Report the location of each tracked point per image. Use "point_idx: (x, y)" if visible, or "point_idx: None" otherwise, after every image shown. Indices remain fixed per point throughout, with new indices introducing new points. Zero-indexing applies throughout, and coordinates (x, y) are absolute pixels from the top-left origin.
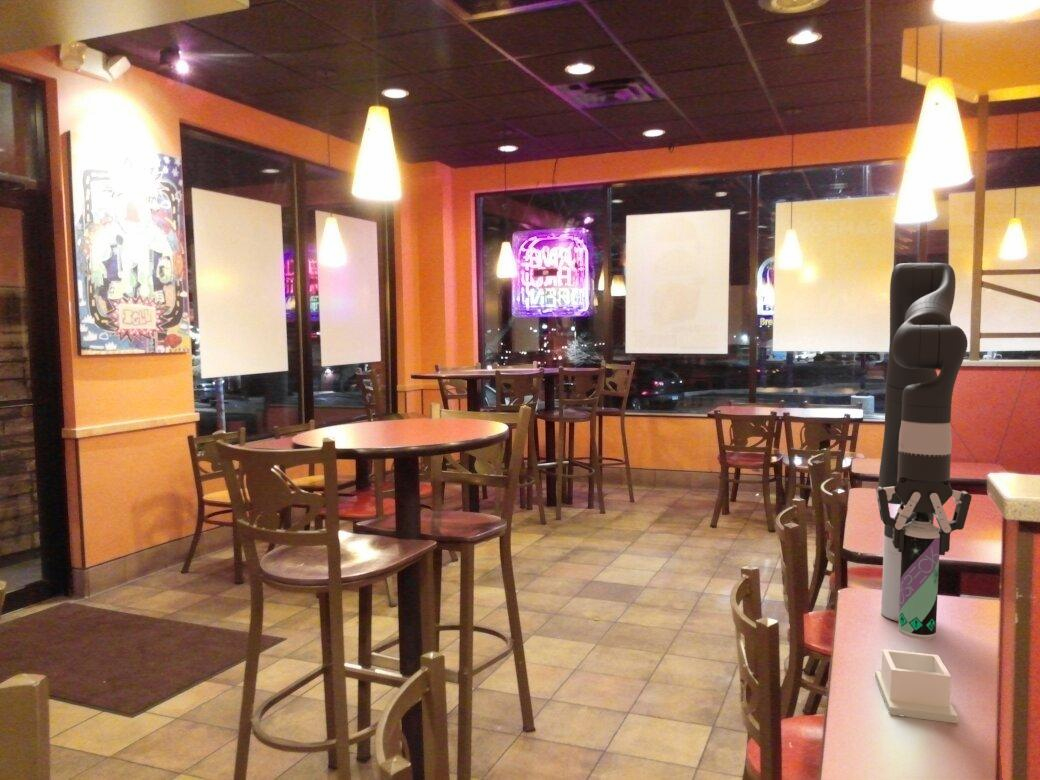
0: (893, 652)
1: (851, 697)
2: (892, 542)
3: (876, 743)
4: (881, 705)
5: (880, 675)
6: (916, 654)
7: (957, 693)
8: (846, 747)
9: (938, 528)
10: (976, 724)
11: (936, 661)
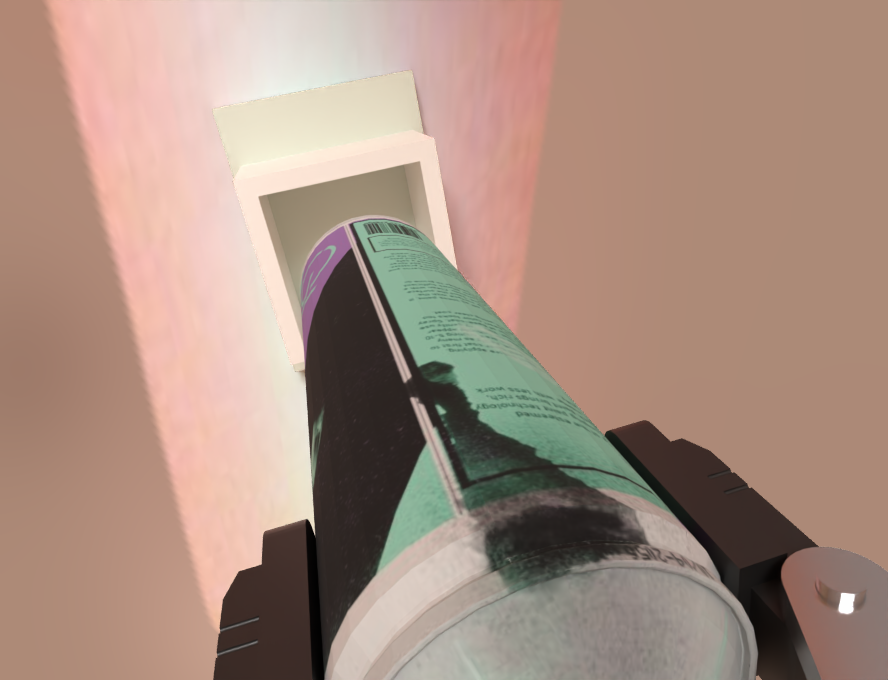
0: (277, 191)
1: (178, 310)
2: (224, 607)
3: (285, 513)
4: (267, 318)
5: (235, 149)
6: (360, 173)
7: (466, 114)
8: (229, 562)
9: (749, 660)
10: (496, 302)
11: (427, 202)
